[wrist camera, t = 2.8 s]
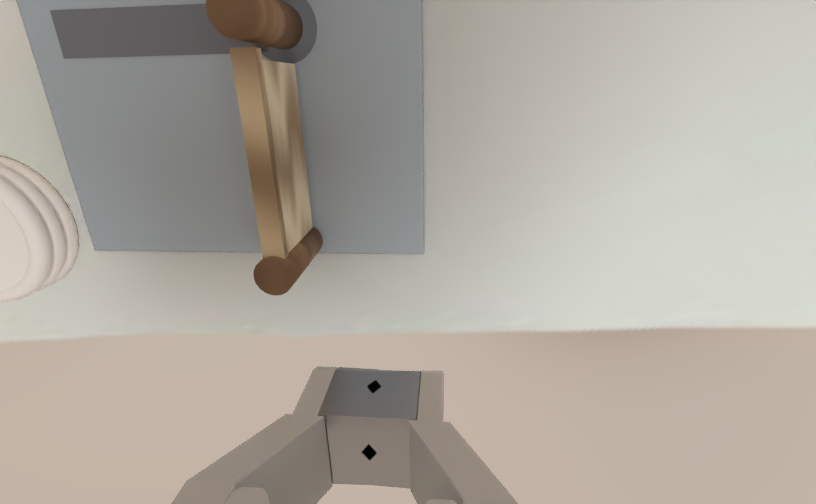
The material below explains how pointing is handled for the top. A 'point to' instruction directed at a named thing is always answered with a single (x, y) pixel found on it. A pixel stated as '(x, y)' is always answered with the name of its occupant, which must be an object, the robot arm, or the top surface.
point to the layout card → (232, 122)
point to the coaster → (32, 232)
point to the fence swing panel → (275, 167)
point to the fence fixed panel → (257, 21)
